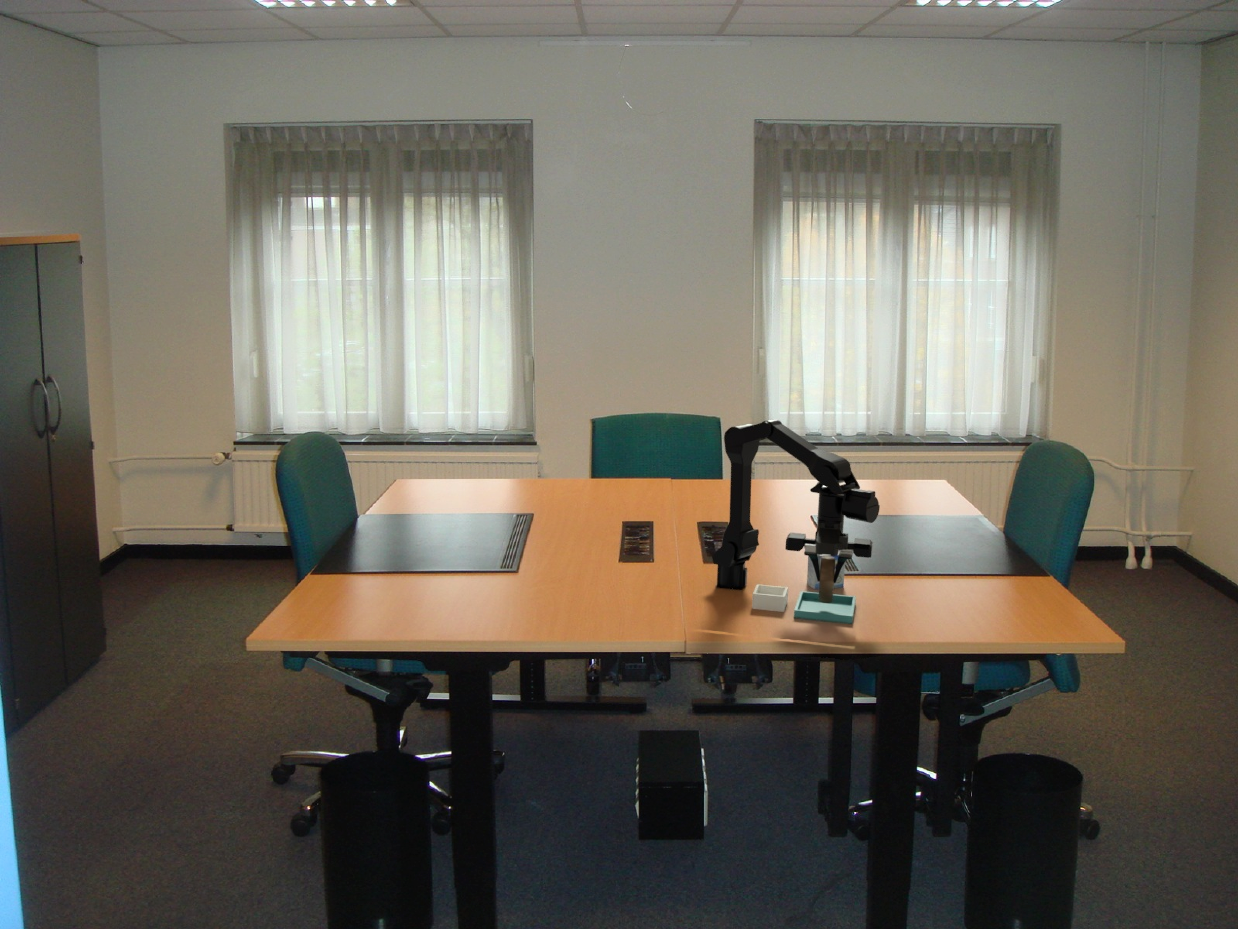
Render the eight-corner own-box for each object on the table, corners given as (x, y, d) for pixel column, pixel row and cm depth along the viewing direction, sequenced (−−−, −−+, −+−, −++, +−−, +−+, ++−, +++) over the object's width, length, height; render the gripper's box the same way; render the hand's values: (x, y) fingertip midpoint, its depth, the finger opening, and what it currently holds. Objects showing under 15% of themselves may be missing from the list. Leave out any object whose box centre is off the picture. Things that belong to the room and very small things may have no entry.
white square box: (751, 610, 240) (752, 593, 239) (756, 600, 247) (757, 584, 246) (783, 613, 238) (784, 596, 237) (787, 603, 245) (788, 587, 244)
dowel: (817, 602, 238) (820, 559, 236) (818, 598, 241) (821, 555, 239) (832, 603, 237) (835, 560, 235) (833, 599, 240) (835, 556, 238)
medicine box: (814, 591, 255) (816, 556, 253) (806, 585, 259) (808, 551, 257) (843, 589, 257) (846, 554, 255) (835, 583, 261) (837, 549, 259)
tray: (793, 620, 234) (794, 610, 234) (800, 600, 248) (800, 591, 247) (852, 626, 231) (852, 616, 231) (855, 606, 244) (855, 596, 244)
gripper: (784, 519, 229) (780, 588, 233) (872, 526, 225) (867, 597, 228) (790, 507, 240) (786, 573, 243) (874, 514, 235) (869, 582, 239)
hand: (826, 581), depth 238 cm, fingers closed on dowel, 3 cm apart
